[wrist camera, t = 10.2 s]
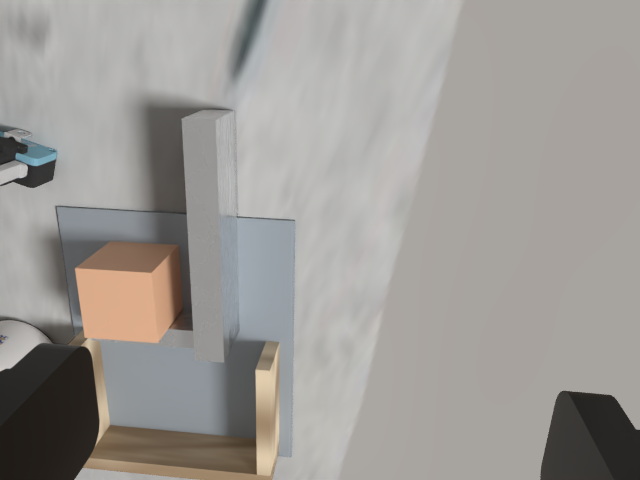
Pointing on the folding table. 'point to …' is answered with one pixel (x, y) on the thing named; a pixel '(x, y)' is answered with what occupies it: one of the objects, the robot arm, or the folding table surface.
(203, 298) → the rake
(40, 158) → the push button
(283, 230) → the mat
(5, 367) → the bath foam
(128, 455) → the stall
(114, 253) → the block
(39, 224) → the folding table surface
